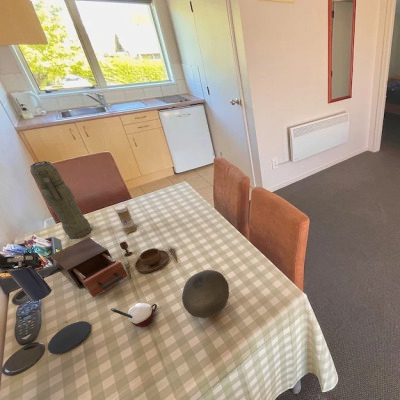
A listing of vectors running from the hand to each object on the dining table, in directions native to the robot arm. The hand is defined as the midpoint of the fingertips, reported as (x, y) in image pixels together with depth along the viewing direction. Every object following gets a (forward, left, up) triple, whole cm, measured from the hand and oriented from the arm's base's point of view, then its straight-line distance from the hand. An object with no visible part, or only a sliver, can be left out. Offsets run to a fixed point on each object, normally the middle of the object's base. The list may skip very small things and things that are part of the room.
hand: (27, 266), depth 69 cm
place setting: (+30, +11, -26) cm, 41 cm away
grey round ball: (+26, -31, -26) cm, 48 cm away
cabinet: (+14, +25, -26) cm, 39 cm away
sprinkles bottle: (+36, +37, -26) cm, 58 cm away
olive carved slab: (+23, +56, -26) cm, 66 cm away
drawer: (+14, +12, -25) cm, 31 cm away
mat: (-2, -2, -26) cm, 26 cm away
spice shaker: (-1, -2, -9) cm, 9 cm away
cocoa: (+12, -16, -26) cm, 33 cm away
